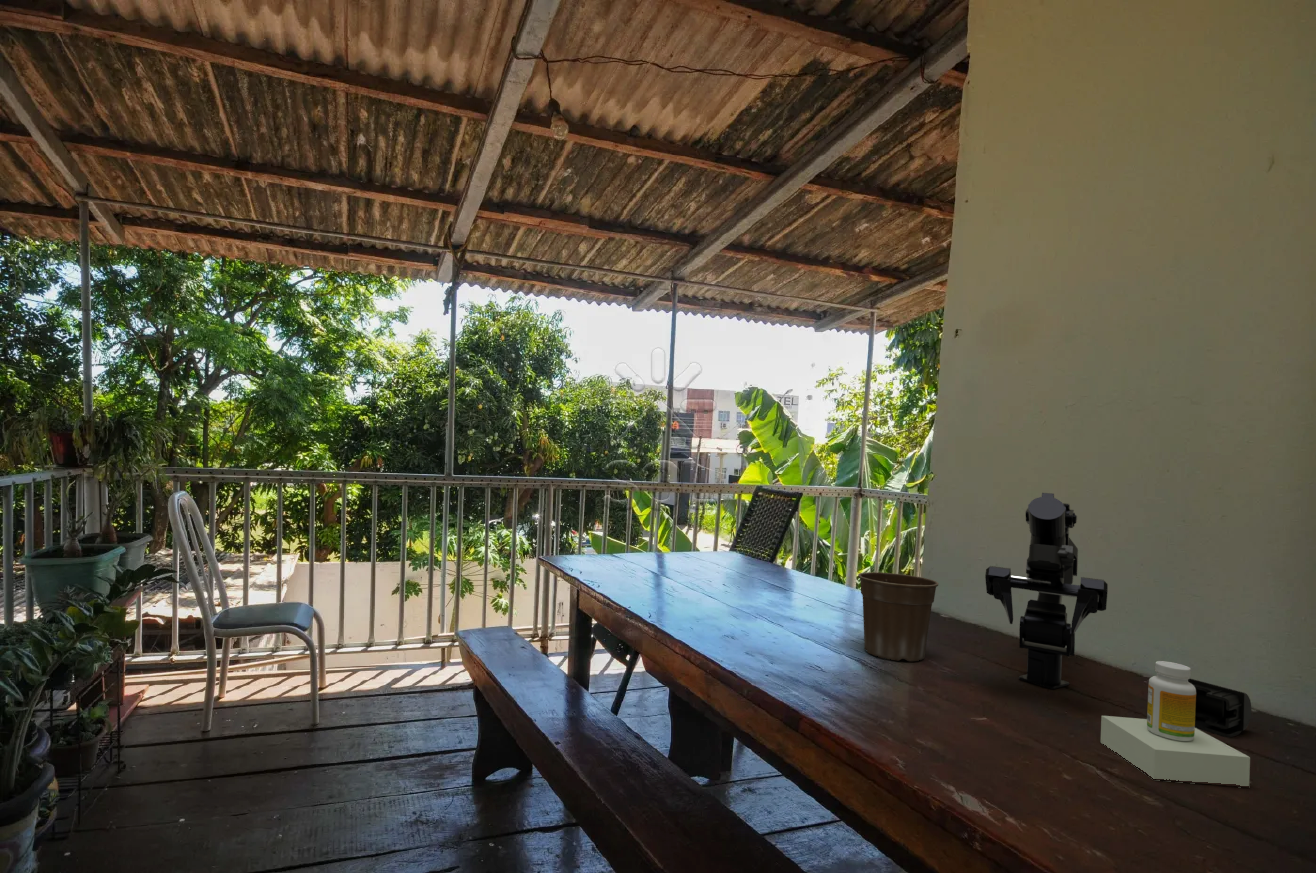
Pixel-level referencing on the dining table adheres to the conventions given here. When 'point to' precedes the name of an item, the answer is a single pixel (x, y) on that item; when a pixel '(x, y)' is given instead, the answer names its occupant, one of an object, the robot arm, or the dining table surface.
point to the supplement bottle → (1171, 702)
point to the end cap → (1221, 709)
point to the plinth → (1175, 753)
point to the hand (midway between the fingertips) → (1041, 627)
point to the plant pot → (896, 614)
